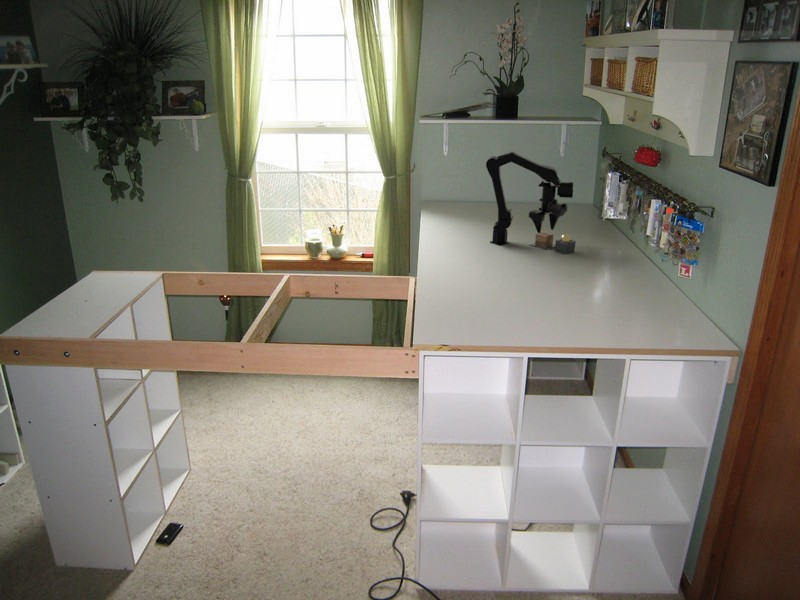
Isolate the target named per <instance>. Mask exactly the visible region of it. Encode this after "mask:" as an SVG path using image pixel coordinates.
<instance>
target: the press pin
mask: <svg viewBox="0 0 800 600" xmlns="http://www.w3.org/2000/svg"><path fill="white" fill-rule="evenodd" d="M571 237H572V236H571V234H568V233H563V234H562V233H561V239H562V240H561V241H563V242H570V240H571Z"/></svg>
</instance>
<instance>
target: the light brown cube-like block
mask: <svg viewBox="0 0 800 600" xmlns="http://www.w3.org/2000/svg"><path fill="white" fill-rule="evenodd" d="M534 241H535V242H534V243H535V245H538V246H541V247H548V246H552V245H553V244H554V234H552V233H549V232H545V231H543V232H540V233H538V232H537V233H536V234H535V239H534Z"/></svg>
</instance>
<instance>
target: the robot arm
mask: <svg viewBox="0 0 800 600" xmlns="http://www.w3.org/2000/svg"><path fill="white" fill-rule="evenodd" d="M509 163H513V164H515V165H517V166H519V167H522V168H524V169H526V170H528V171H531V172H532V173H534V174H535V175H537V176H538V177H540V178H541V179H543V180H541V181H540V182H539V183H538V188H539V187H541V188H542V192H541V198H539V202H541V204H540V207H538V210H537V209H535V210H530V211H529V212H528V218H530V219H531V221H532V222H533V224H534V227H535V229H536V231H537V234H538V233H541V231H542V225H543V222H544V221H545V220H546V219H545V217H546V216H547V215H548V216H549V217H548V218H549V227H550V230H552V231H553V230H555V226H556V225H557V222H558V220H559V218H561V217H563V216H564V215H565V214H566V213H567V212H568V204H567V203H565V202H564V203H562V204H561V203H558V199H556V196H558V197H559V198H565V199H572V198H573V193H574V181H568V182H567V181H561V179H560V178H559V176H558V171H557V169H556V168H555V167H552V166H549V165H544V164H540V163H537V162H535V161H533V160H531V159H529V158H527V157H524V156H522V155H520V154H518V153H516V152H515V151H509V152H508V153H504V154H501V155H499V156H496V155H492V156H490V157H489V158H488V159H487V161H486V162H485V166H486V171H487V172H488V174H489V176H490V178H491V182H492V186H493V191H494V195H495V200H496V201H495V202H496V205H497V221H495V223H494V225H493V228H492V229H493V230H492V239H491V240H490V241H489V243H490V244H493V245H496V246H503V245H506V244H510V242H509V241H508V228H510V226H511V225H512V222H513V219H514V216H513V211H512V209H511V208H510V209H509V208H508V205H507V201H506V196H505V192H504V191H505V190H504V187H503V182H502V176H501V175H502V174H501V173H502V172H501V171H502V170H501V168H502V166H504V165H507V164H509ZM556 191H557V192H556Z"/></svg>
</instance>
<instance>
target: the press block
mask: <svg viewBox="0 0 800 600" xmlns="http://www.w3.org/2000/svg"><path fill="white" fill-rule="evenodd" d="M561 240H562V238H560V239H556V240H555V247H554V252H556V253H560V254H563V255H569V254H572V253H575V250H576V242H577V241H576V240H574V239H570V242H563V241H561Z"/></svg>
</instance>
